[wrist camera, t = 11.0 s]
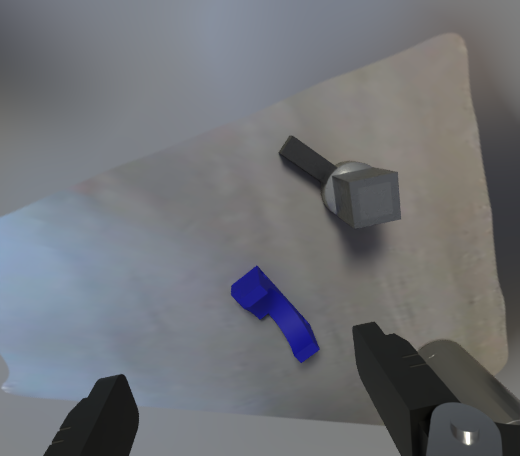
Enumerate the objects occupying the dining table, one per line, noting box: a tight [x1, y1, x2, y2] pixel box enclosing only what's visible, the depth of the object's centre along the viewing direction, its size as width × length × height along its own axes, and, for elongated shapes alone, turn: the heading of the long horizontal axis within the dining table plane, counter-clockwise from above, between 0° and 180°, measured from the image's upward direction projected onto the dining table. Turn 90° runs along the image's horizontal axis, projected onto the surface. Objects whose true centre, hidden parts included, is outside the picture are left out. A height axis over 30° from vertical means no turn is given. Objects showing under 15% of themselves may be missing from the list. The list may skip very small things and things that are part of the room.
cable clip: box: [231, 266, 320, 363], centre depth 42 cm, size 12×4×6 cm, turn 39°
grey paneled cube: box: [332, 167, 401, 229], centre depth 35 cm, size 5×5×6 cm
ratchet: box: [279, 136, 371, 215], centre depth 37 cm, size 14×7×6 cm, turn 56°
